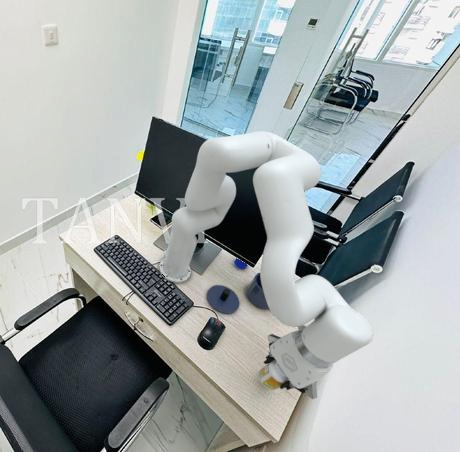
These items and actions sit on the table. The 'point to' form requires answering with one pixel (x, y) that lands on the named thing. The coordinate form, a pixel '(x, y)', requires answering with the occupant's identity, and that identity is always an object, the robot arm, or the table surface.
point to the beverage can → (240, 264)
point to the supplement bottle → (272, 375)
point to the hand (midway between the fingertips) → (276, 373)
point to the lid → (223, 299)
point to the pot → (256, 293)
